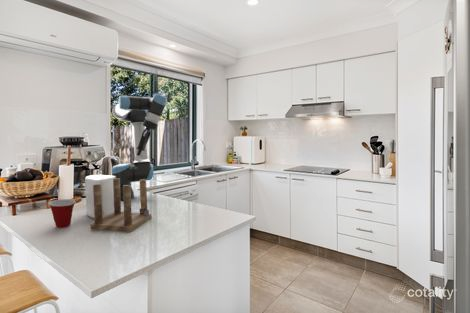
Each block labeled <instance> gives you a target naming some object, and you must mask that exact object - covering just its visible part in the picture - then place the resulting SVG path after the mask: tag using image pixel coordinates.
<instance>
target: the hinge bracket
mask: <svg viewBox="0 0 470 313" xmlns="http://www.w3.org/2000/svg"><path fill="white" fill-rule="evenodd" d="M139 213H140V215H141V214H144V216H149V214H150V210H149V209H147V210H144V212H143V211H141V208H139Z"/></svg>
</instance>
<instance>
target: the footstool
mask: <svg viewBox="0 0 470 313" xmlns="http://www.w3.org/2000/svg"><path fill="white" fill-rule="evenodd" d="M131 187H132V184H131V185H123V199H124V200H123V211H122V201H121V198H120V179H119V178H116V179H113V191H114V213H113V214H110V215H108V216H106V217H104V218H102V199H101V184H93V194H94V216H95V219H94V222H93V223H90V226H89V227H90V228H89V229H90V230H91V231H103V232H105V231H106V232H116V233H117V232H119V233H131V232H133V231H135V230H136V229H137V228H139V227H140V226H142V225H144V224H145V223H147V222H148V221H150V220H151V219H152V213H149V216H144V214H141V215H140V212H133V211H132V199H131Z"/></svg>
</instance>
